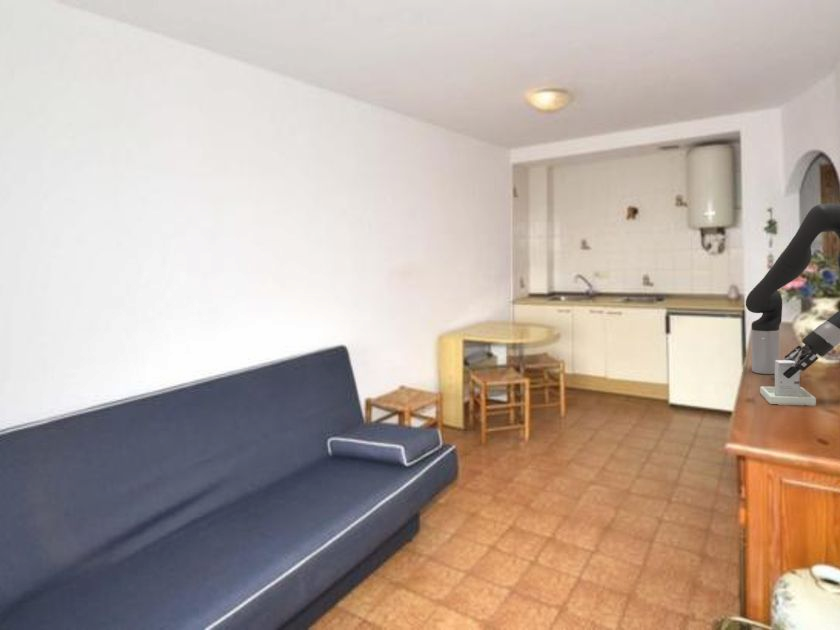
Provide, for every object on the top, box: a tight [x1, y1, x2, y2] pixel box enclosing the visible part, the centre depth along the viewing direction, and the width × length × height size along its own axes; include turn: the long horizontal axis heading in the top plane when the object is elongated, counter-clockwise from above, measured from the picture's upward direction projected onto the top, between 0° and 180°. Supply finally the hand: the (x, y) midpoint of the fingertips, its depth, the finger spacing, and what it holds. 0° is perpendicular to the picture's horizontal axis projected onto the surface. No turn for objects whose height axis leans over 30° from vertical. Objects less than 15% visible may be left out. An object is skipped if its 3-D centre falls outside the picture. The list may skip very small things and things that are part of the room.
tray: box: [759, 385, 817, 407], centre depth 171 cm, size 14×12×2 cm
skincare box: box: [774, 359, 801, 397], centre depth 170 cm, size 6×4×12 cm
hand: (781, 373), depth 170 cm, fingers open, 8 cm apart
